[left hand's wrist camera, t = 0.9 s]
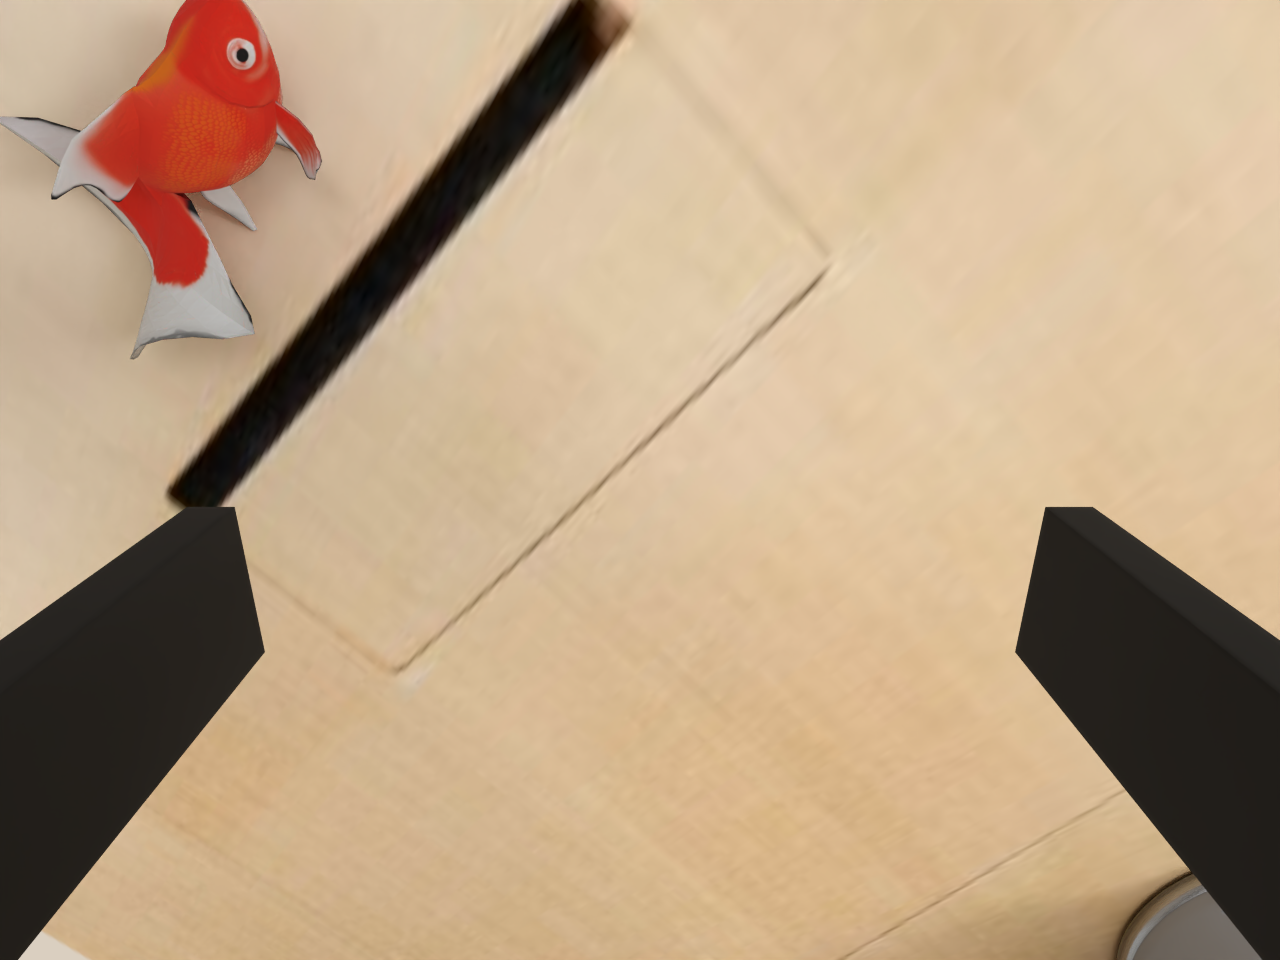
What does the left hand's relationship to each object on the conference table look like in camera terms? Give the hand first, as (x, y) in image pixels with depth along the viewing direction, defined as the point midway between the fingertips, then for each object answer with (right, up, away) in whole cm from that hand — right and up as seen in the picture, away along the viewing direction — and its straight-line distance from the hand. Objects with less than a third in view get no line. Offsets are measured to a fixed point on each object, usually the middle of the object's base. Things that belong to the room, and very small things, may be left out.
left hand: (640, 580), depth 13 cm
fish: (-18, +14, +22) cm, 32 cm away
